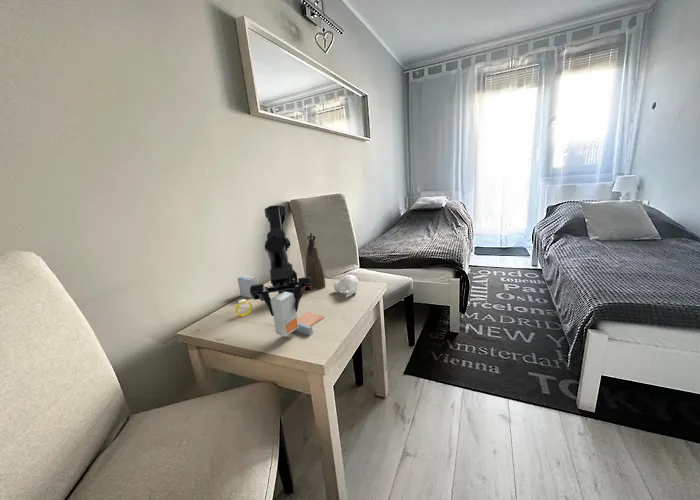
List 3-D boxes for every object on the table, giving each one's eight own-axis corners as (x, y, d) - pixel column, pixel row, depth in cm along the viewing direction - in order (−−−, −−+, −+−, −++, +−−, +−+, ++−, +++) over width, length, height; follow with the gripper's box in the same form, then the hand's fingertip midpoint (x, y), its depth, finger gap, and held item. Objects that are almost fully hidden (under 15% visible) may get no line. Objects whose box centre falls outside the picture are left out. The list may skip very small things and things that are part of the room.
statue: (325, 282, 138) (318, 231, 131) (325, 288, 131) (318, 234, 124) (307, 284, 137) (299, 233, 130) (306, 291, 130) (298, 237, 123)
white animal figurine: (348, 278, 114) (327, 276, 122) (352, 298, 116) (331, 295, 124) (358, 273, 119) (337, 272, 127) (362, 293, 120) (340, 290, 128)
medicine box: (260, 294, 130) (256, 276, 128) (252, 298, 127) (248, 279, 125) (248, 292, 135) (245, 274, 133) (240, 296, 131) (237, 278, 129)
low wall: (284, 323, 101) (283, 317, 100) (312, 333, 92) (311, 326, 92) (281, 325, 100) (280, 318, 99) (310, 335, 91) (309, 328, 91)
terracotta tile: (308, 313, 107) (307, 312, 107) (324, 318, 102) (324, 316, 102) (291, 322, 101) (291, 321, 101) (307, 328, 96) (307, 326, 96)
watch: (239, 319, 108) (235, 305, 107) (236, 317, 110) (232, 303, 109) (254, 312, 112) (250, 298, 111) (251, 310, 114) (247, 296, 113)
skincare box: (286, 337, 88) (279, 300, 85) (275, 334, 90) (269, 298, 87) (299, 327, 93) (294, 292, 90) (289, 325, 95) (284, 291, 92)
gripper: (245, 260, 88) (246, 309, 80) (307, 252, 91) (314, 298, 83) (252, 277, 97) (254, 322, 89) (308, 268, 100) (315, 311, 93)
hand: (284, 313), depth 88 cm, fingers closed on skincare box, 7 cm apart
